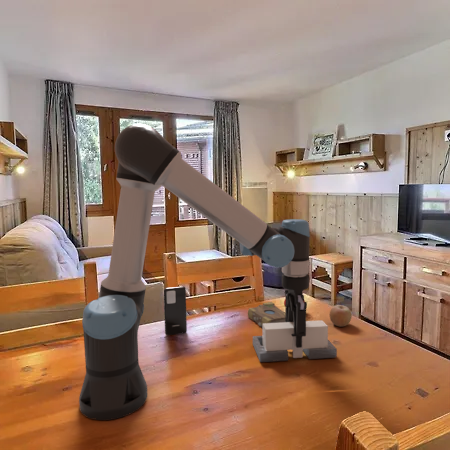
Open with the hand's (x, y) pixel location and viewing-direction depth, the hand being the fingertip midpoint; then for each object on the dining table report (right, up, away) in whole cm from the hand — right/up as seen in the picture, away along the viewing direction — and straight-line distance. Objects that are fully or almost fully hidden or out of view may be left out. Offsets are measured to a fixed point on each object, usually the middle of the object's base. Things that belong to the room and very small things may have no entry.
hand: (294, 352), depth 103 cm
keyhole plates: (0, 0, +2) cm, 2 cm away
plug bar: (0, 0, 0) cm, 0 cm away
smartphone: (-37, 0, +16) cm, 40 cm away
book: (-4, +1, +25) cm, 26 cm away
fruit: (+20, +2, +21) cm, 29 cm away
